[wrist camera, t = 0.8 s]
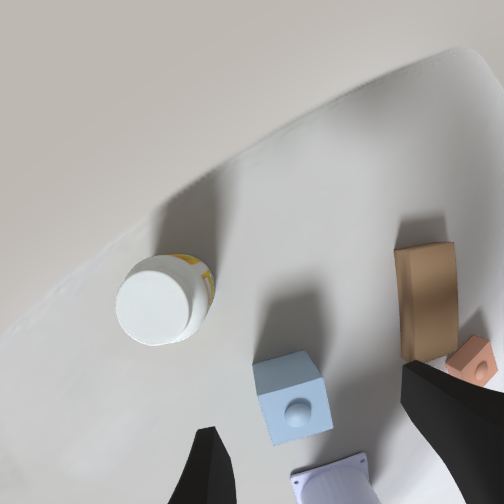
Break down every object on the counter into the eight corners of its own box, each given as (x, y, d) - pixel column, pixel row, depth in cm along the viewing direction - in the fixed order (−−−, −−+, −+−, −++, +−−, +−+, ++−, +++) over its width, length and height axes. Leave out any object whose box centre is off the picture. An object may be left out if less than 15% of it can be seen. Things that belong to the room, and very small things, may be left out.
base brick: (440, 342, 27) (457, 350, 24) (399, 355, 27) (415, 366, 24) (435, 242, 27) (453, 241, 24) (391, 250, 26) (408, 250, 23)
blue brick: (314, 394, 26) (335, 430, 19) (265, 408, 26) (273, 448, 19) (304, 349, 26) (324, 379, 19) (252, 364, 25) (257, 398, 19)
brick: (481, 363, 27) (499, 371, 24) (454, 389, 27) (471, 400, 24) (472, 334, 27) (490, 341, 24) (443, 362, 27) (461, 372, 23)
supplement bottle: (229, 290, 25) (226, 316, 16) (180, 332, 25) (152, 378, 15) (184, 238, 25) (154, 234, 15) (136, 282, 25) (85, 301, 15)
